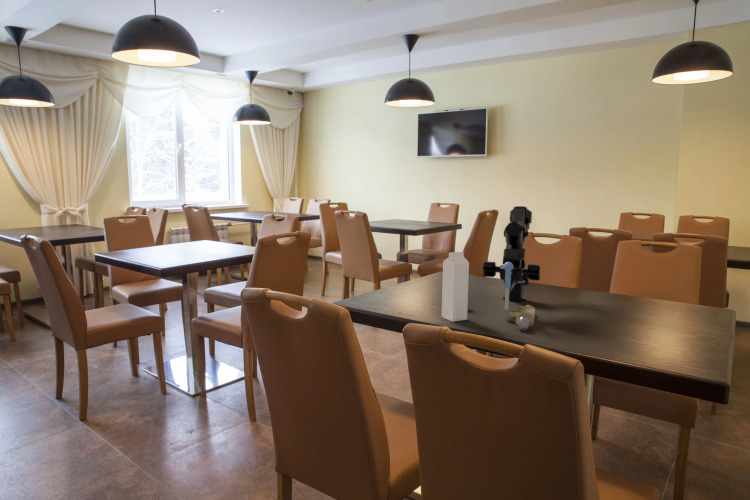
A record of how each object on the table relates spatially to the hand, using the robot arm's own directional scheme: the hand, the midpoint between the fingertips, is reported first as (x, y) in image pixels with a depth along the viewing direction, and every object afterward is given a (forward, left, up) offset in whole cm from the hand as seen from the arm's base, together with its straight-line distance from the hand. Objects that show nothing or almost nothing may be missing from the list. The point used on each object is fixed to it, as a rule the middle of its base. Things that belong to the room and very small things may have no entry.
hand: (508, 291), depth 166 cm
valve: (+1, +7, -9) cm, 11 cm away
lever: (+4, +3, -7) cm, 9 cm away
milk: (+17, -8, -9) cm, 21 cm away
